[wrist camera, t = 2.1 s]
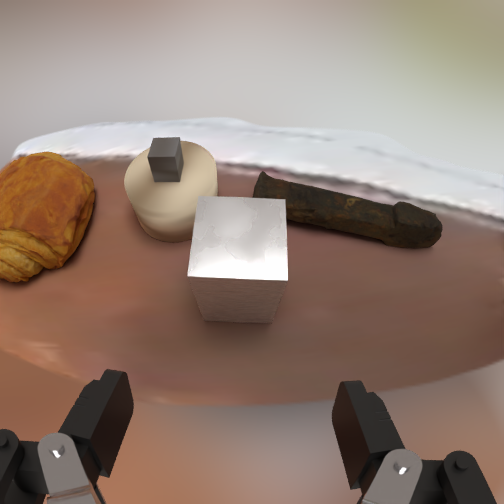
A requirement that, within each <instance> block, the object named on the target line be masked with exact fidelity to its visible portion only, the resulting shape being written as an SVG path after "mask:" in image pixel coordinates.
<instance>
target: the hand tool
mask: <svg viewBox="0 0 504 504" xmlns="http://www.w3.org/2000/svg"><path fill="white" fill-rule="evenodd" d="M253 198H266V199H285V206H286V219H289V220H292V221H296V222H302V223H310V224H314V225H319V226H323V227H325V228H326V229H336V230H340V231H344V232H351V233H355V234H360V235H364V236H368V237H372V238H377V239H381V240H382V241H383V243H384V244H385V245H388V246H394V247H403V248H405V247H406V248H419V247H430V246H432V245H434V244H435V243H436V242H437V241H438V240H439V239H440V237H441V232H442V224H441V222H440V221H439V220H438V218H437V217H436V214H434V213H432V212H430V211H427V210H423V209H421V208H419V207H416V206H414V205H412V204H410V203H406V202H398V203H397V204H395V205H394V206H393V205H388V204H381V203H377V202H373V201H370V200H366V199H363V198H359V197H355V196H351V195H346V194H343V193H338V192H333V191H330V190H325V189H321V188H317V187H313V186H307V185H303V184H298V183H293V182H288V181H284V180H283V179H282V180H280V179H274V178H272V177H270V176H268V175H267V174H266V173H265V172H263V171H262V172H261V173H260V175H259V178H258V180H257V183H256V185H255V187H254V194H253Z"/></svg>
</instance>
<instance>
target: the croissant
mask: <svg viewBox="0 0 504 504" xmlns="http://www.w3.org/2000/svg"><path fill="white" fill-rule="evenodd" d="M93 190H94V183H93V179H92V178H90V177H89V176H88V175H87V174H86V173H85V172H84V171H82V170H81V168H80V167H78V166H77V165H75V164H73V163H72V162H70V161H67V160H66V159H64V158H62V156H61V155H59V154H56V153H52V152H42V153H36V154H31V155H29V156H27V157H20V158H19V159H18V160H14V161H13V162H12V163H11V164H10V165H9V166H8V167H7V168H6V169H5V170H4V171H3V172H2V173H1V174H0V278H1V279H2V278H4V279H6V280H7V281H9V282H19V281H21V280H23V281H29V277H32V276H33V275H35V274H38V273H39V272H40V271H41V270H42V268H43V267H45V268H48V269H50V270H51V269H56V268H57V269H58V268H60V267H62V266H63V264H64V263H65V261H66V260H67V259H68V258H69V257H70V256H71V255H72V254H73V253H74V251H75V250H76V248H77V246H78V245H79V243H80V241H81V239H82V238H83V235H84V232H85V229H86V226H87V224H88V222H89V219H90V217H91V213H92V209H93V202H94V199H95V194H94V191H93Z"/></svg>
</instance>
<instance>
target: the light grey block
mask: <svg viewBox="0 0 504 504" xmlns="http://www.w3.org/2000/svg"><path fill="white" fill-rule="evenodd" d="M188 279H189V282H190V284H191V287H192V290H193V293H194V295H195V298H196V301H197V303H198V306H199V309H200V311H201V314H202V317H203V319H204V321H221V322H243V323H272V321H273V318H274V316H275V313H276V310H277V308H278V305H279V303H280V300H281V297H282V295H283V292H284V289H285V287H286V284H287V281H288V266H287V232H286V206H285V199H266V198H245V197H218V196H198V202H197V208H196V215H195V222H194V229H193V237H192V244H191V252H190V260H189V268H188Z"/></svg>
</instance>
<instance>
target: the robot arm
mask: <svg viewBox="0 0 504 504" xmlns="http://www.w3.org/2000/svg"><path fill="white" fill-rule="evenodd" d="M133 405H134V403H133V397H132V393H131V389H130V385H129V380H128V376H127V373H126V372H123V371H116V370H110V369H107V370H105V372H104V373H103V375H102V377H101V379H100V380H93V381H91V382H90V383H89V384H88V385H86V386H85V387H84V388H83V390H82V392H81V393H80V395H79V398H77V400H76V402H75V405H73V407H72V409H71V410H70V412H69V414H68V416H67V417H66V419H65V421H64V423H63V425H62V426H61V428H60V430H59V431H58V433H51V434H48V435H46V436H45V437H43V438H42V439H41V441H40V442H33V441H19V439H18V437H17V436H16V435H15V433H14V432H12V431H10V430H7V429H1V430H0V504H43V502H44V499H45V496H46V494H49V495H50V497H47V504H106V501H105V499H104V497H103V495H102V493H101V491H100V489H99V486H98V484H97V480H98V477H99V475H101V476H105V477H108V478H109V477H110V474H111V471H112V468H113V466H114V463H115V460H116V457H117V455H118V452H119V449H120V446H121V444H122V440H123V438H124V436H125V433H126V430H127V427H128V425H129V422H130V420H131V417H132V414H133V408H134V406H133ZM332 423H333V427H334V431H335V434H336V438H337V441H338V445H339V448H340V452H341V456H342V459H343V463H344V467H345V471H346V474H347V478H348V482H349V485H350V489H357V488H361V492H362V495H361V497H360V499H359V500H358V502H357V504H497V503H496V501H495V499H494V496H493V494H492V492H491V490H490V488H489V486H488V484H487V482H486V480H485V478H484V476H483V473H482V471H481V470H480V468H479V466H478V464H477V462H476V460H475V458H474V457H473V456H472V455H471V454H469V453H467V452H464V451H454V452H451V453H450V454H448V455H447V457H446V458H445V459H444V460H421V459H420V457H419V456H418V455H417V454H416V453H414V452H412V451H410V450H407V449H405V447H404V445H403V443H402V441H401V438H400V436H399V434H398V432H397V430H396V428H395V426H394V423H393V421H392V420H391V417H390V415H389V413H388V412H387V409H386V407H385V405H384V402H383V401H382V400H381V399H380V398H379V397H378V396H377V395H376V394H375V393H374V392H370V393H367V392H366V389H365V387H364V385H363V383H362V381H360V380H359V381H345V382H341V383H340V385H339V388H338V392H337V396H336V399H335V403H334V406H333V410H332Z"/></svg>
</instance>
